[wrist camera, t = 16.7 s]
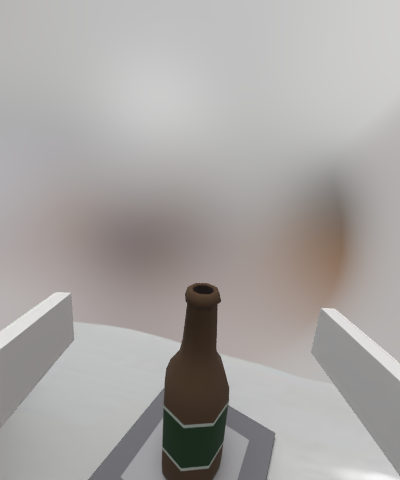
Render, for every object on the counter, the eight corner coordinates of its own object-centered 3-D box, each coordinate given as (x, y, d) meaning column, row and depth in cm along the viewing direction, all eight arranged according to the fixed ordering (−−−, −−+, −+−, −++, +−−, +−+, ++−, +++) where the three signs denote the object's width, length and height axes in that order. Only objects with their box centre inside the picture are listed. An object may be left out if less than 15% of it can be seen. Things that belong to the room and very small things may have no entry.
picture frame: (81, 494, 24) (80, 487, 24) (175, 378, 39) (175, 373, 39) (226, 677, 15) (227, 670, 15) (274, 438, 31) (275, 432, 30)
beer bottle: (232, 475, 26) (259, 299, 20) (173, 520, 22) (184, 319, 16) (201, 415, 32) (214, 269, 26) (151, 441, 28) (154, 278, 23)
